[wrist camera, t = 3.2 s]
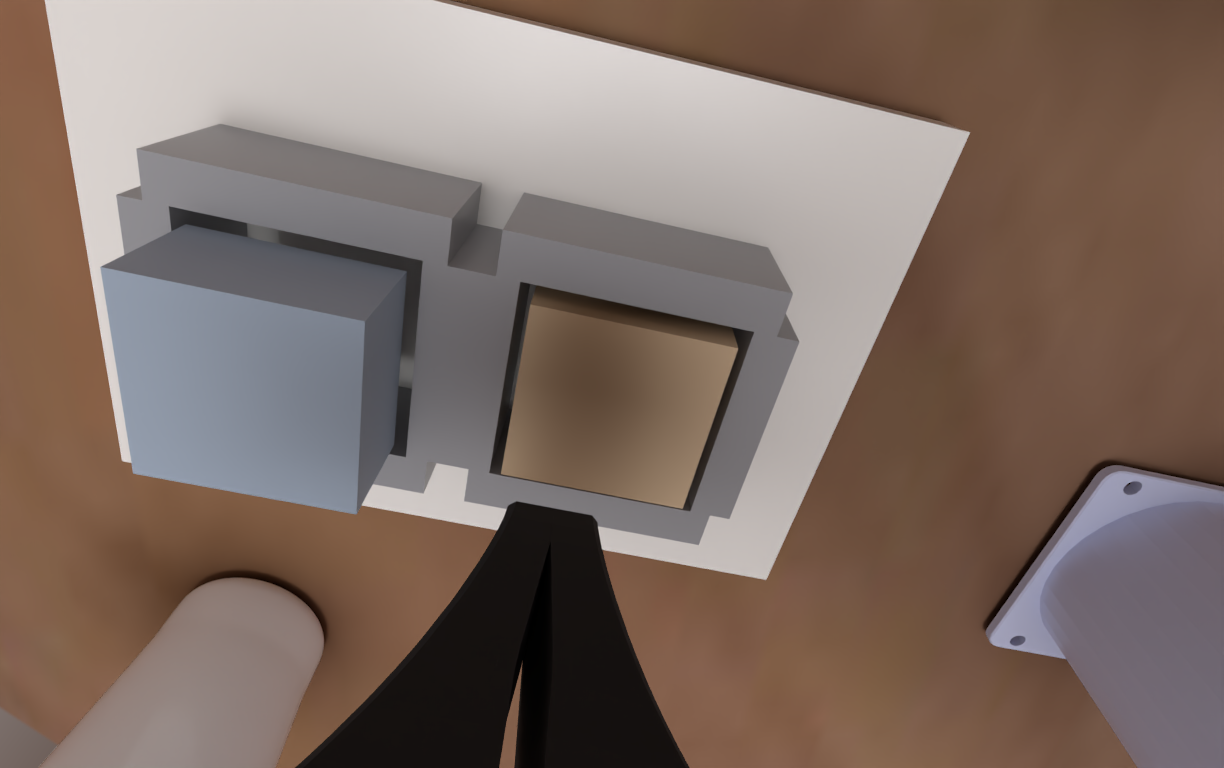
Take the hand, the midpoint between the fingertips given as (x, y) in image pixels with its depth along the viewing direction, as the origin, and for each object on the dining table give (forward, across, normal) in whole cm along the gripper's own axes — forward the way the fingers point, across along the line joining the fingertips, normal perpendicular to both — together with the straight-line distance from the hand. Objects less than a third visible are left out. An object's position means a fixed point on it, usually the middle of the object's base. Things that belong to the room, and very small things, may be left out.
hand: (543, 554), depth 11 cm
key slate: (+5, +6, 0) cm, 8 cm away
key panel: (+10, +2, 0) cm, 10 cm away
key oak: (+7, -1, 0) cm, 7 cm away
